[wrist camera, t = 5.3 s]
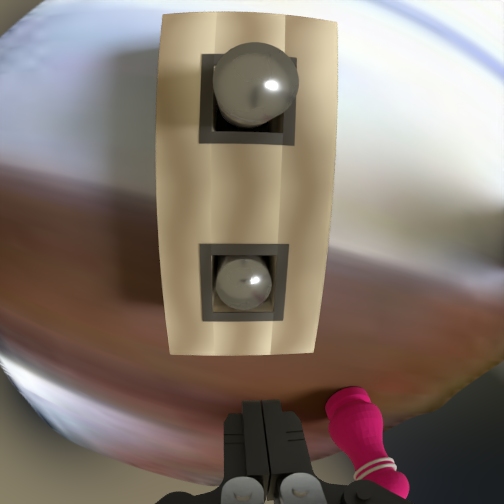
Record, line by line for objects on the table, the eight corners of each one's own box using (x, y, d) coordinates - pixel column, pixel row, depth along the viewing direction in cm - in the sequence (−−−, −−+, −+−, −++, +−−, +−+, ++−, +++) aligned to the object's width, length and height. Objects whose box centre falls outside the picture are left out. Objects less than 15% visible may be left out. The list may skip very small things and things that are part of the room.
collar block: (309, 50, 24) (337, 21, 17) (295, 307, 33) (313, 353, 25) (179, 45, 23) (162, 13, 16) (181, 307, 32) (170, 355, 24)
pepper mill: (316, 419, 40) (351, 538, 21) (328, 385, 38) (377, 516, 19) (361, 415, 41) (406, 522, 22) (376, 381, 38) (436, 496, 19)
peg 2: (261, 229, 30) (273, 259, 22) (260, 269, 31) (270, 309, 24) (218, 229, 29) (215, 259, 22) (218, 269, 31) (216, 310, 23)
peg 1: (275, 76, 20) (299, 45, 12) (274, 129, 21) (297, 123, 14) (219, 74, 19) (214, 41, 12) (217, 128, 21) (211, 120, 13)
